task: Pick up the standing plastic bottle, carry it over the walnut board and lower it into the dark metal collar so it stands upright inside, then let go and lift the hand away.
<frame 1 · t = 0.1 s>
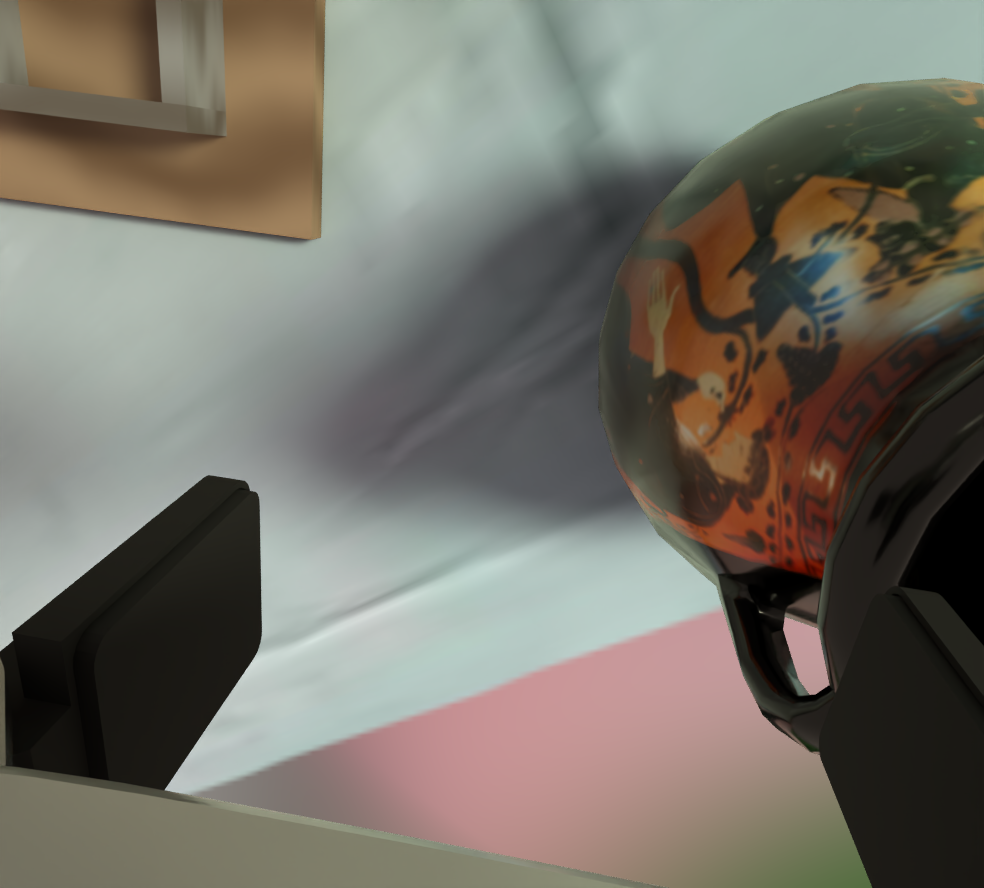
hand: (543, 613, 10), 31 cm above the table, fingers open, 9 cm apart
amphora vase: (787, 318, 39), on the table
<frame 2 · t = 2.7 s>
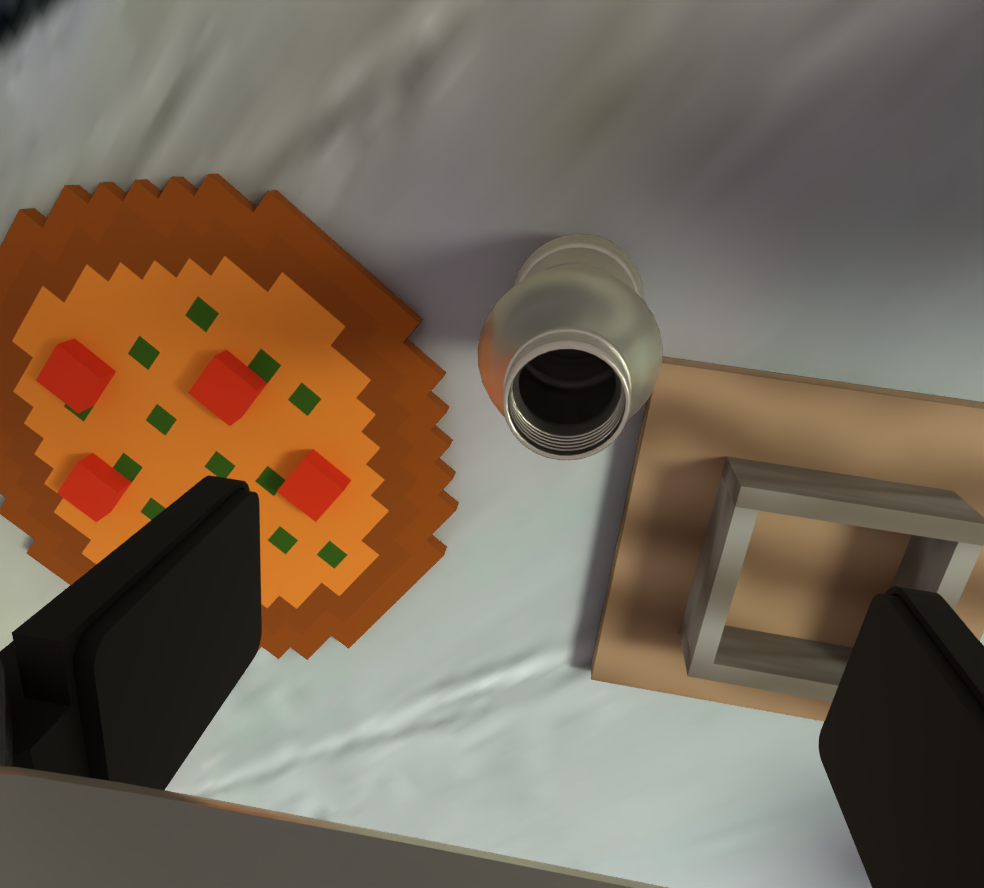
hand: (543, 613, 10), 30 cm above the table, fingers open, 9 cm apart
pizza: (214, 441, 45), on the table
plastic bottle: (577, 289, 38), on the table
collar board: (799, 554, 42), on the table
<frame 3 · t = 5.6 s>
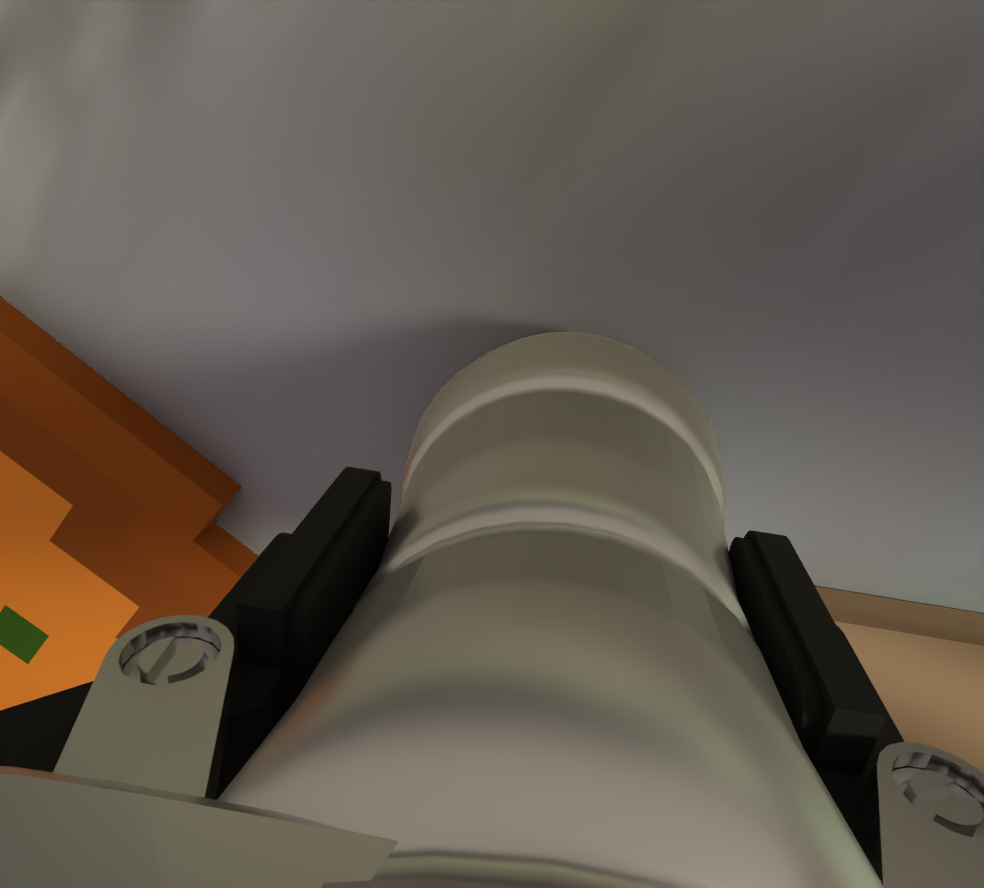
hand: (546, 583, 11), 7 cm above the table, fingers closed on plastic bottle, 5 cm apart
plastic bottle: (562, 436, 17), on the table, touching gripper
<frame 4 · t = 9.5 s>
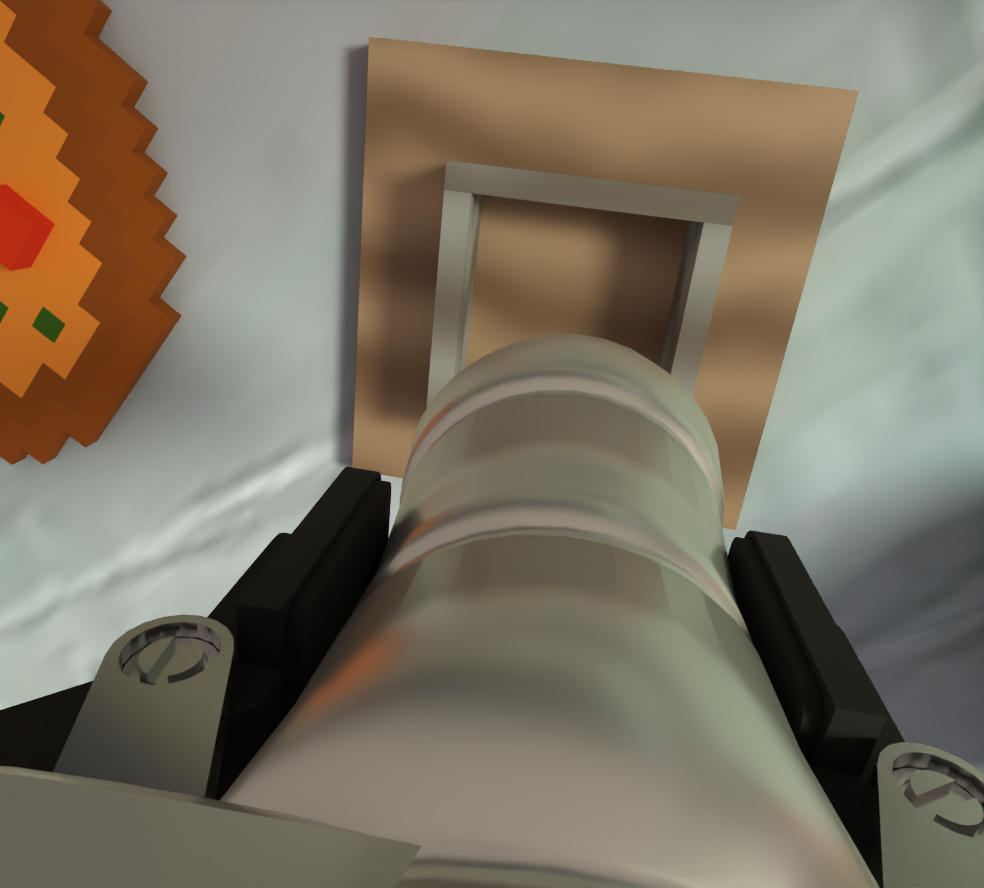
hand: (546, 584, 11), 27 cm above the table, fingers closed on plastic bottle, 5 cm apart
plastic bottle: (561, 438, 17), point 20 cm above the table, touching gripper
collar board: (570, 302, 36), on the table
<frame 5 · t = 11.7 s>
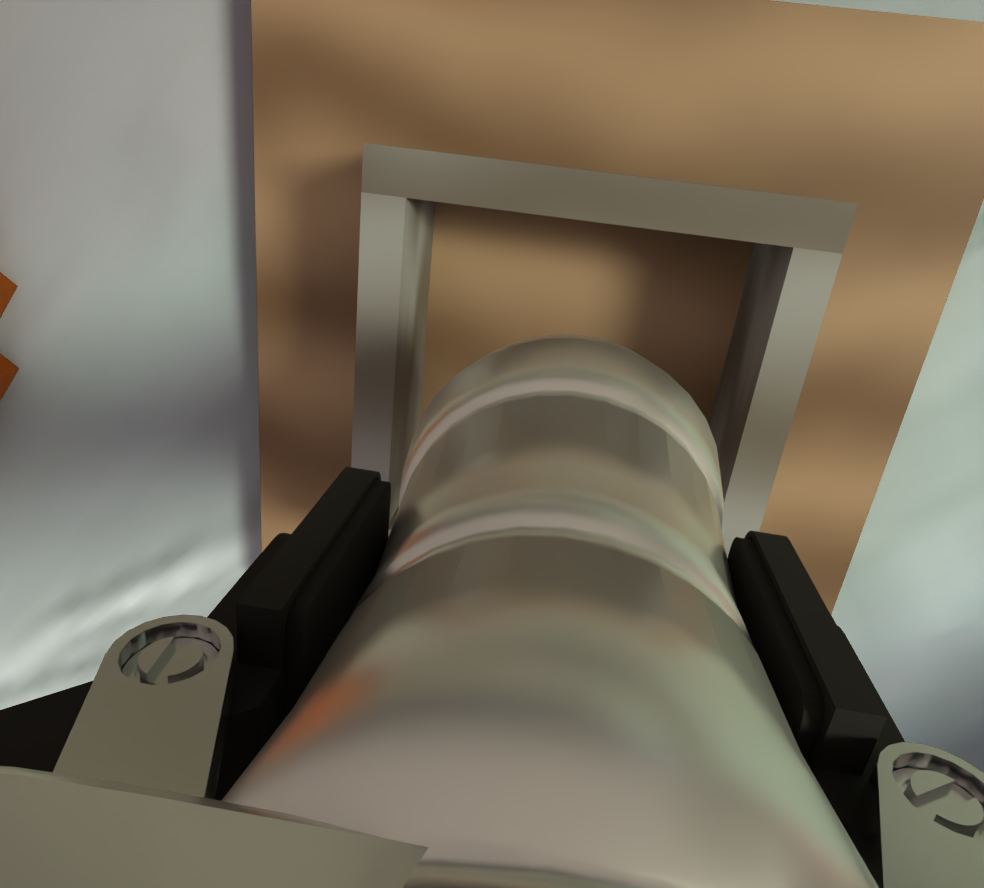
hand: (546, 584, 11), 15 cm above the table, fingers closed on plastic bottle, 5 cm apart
plastic bottle: (560, 438, 17), point 8 cm above the table, touching gripper
collar board: (570, 356, 25), on the table
when the fingers open (9 cm above the table, at t = 13.7 s): plastic bottle drops 1 cm, resting on collar board.
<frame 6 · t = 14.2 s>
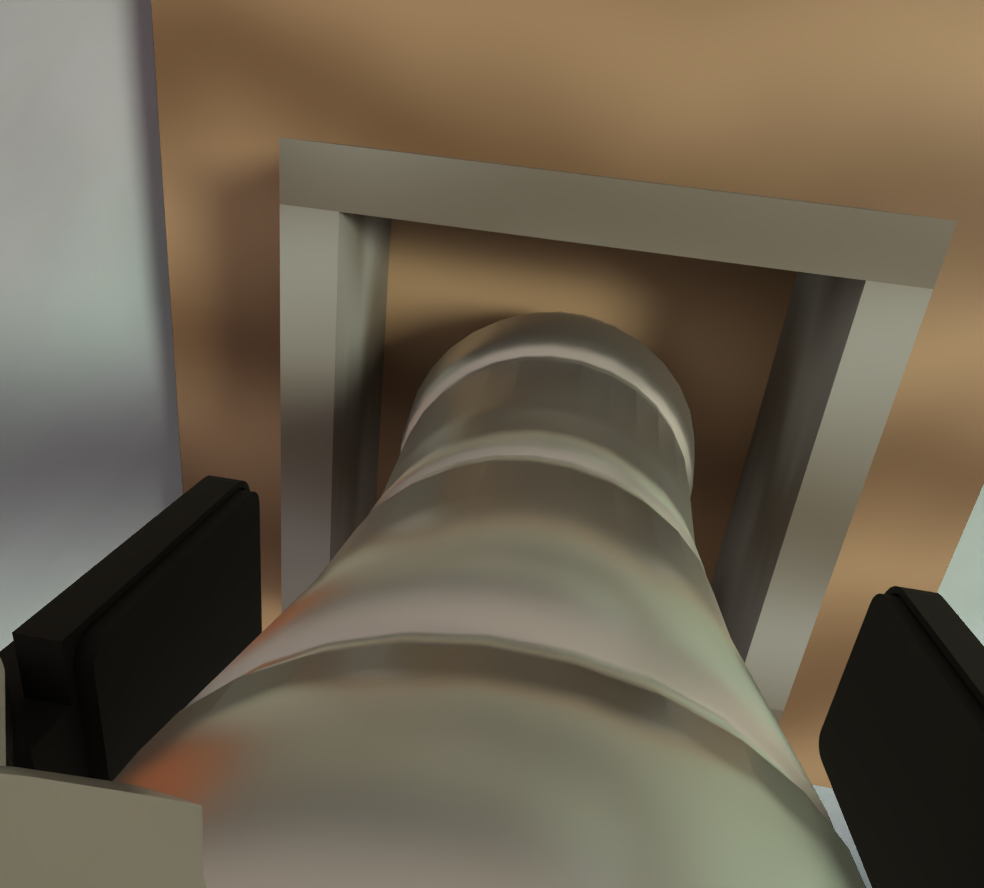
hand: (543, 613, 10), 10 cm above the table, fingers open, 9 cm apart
plastic bottle: (551, 411, 19), point 1 cm above the table, touching collar board
collar board: (563, 402, 20), on the table
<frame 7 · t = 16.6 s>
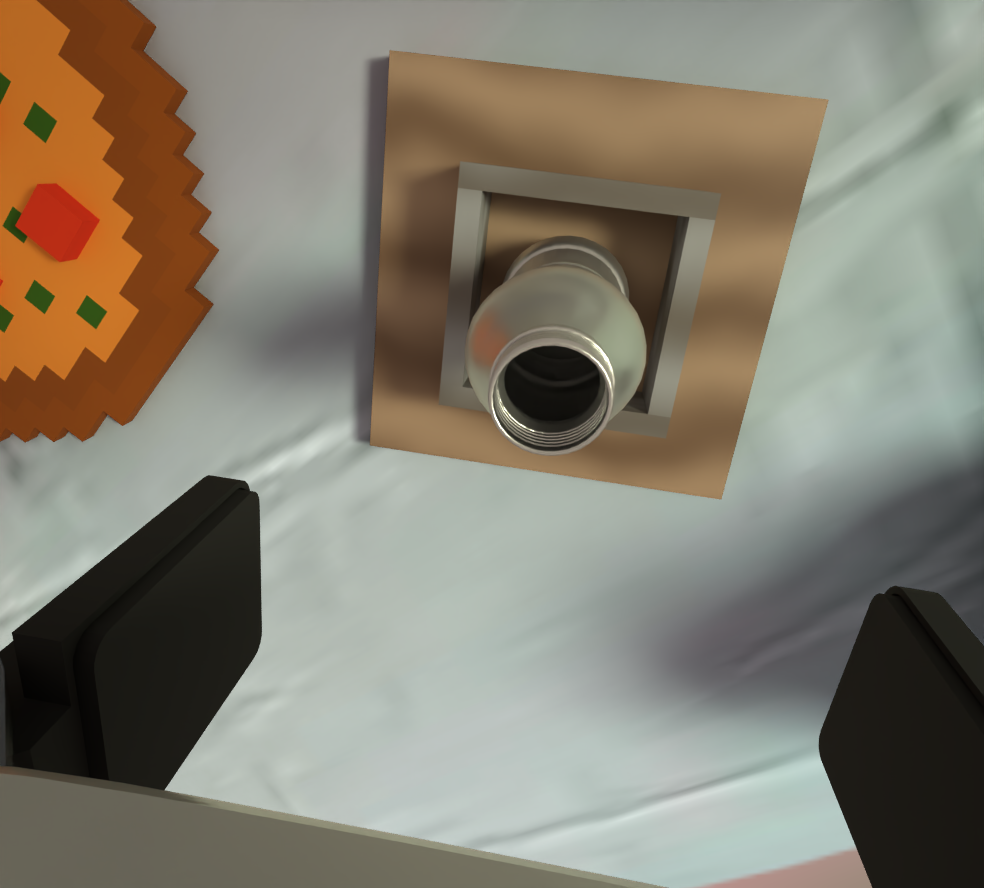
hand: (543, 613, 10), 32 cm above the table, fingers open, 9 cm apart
plastic bottle: (564, 291, 39), point 1 cm above the table, touching collar board
collar board: (570, 290, 40), on the table
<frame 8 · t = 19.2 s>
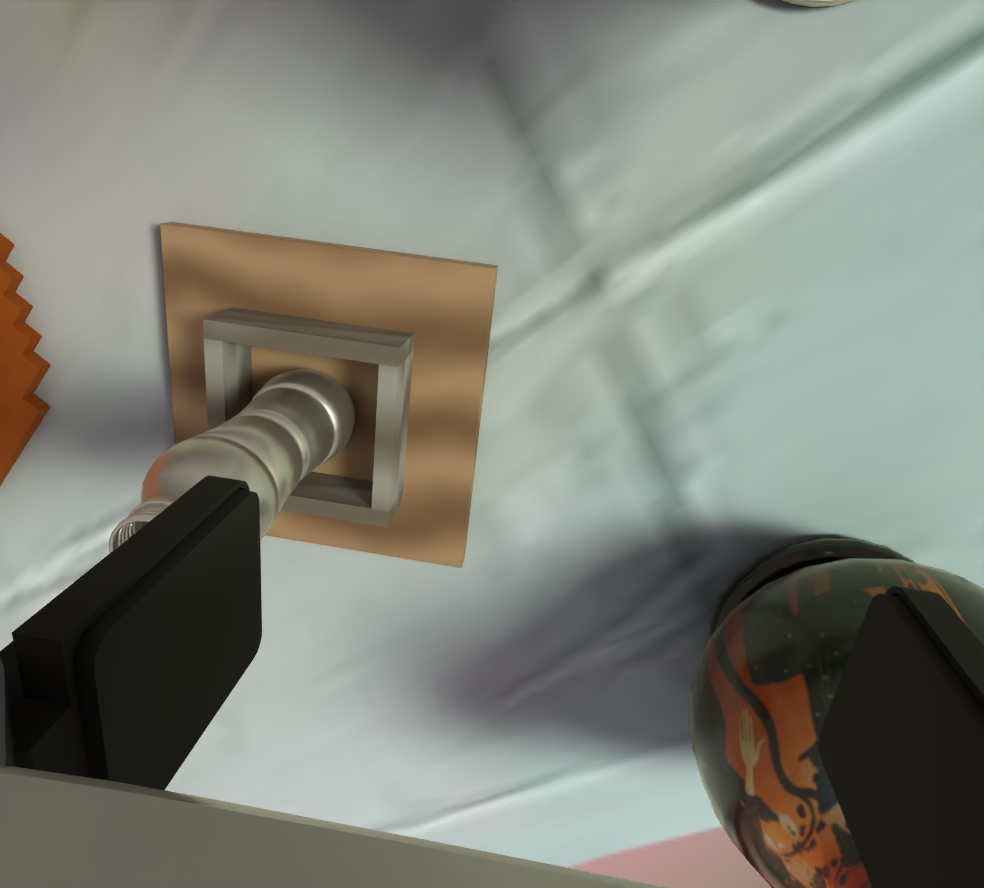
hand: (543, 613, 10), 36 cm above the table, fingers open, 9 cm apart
amphora vase: (819, 626, 51), on the table
plastic bottle: (317, 404, 48), point 1 cm above the table, touching collar board
collar board: (328, 401, 49), on the table
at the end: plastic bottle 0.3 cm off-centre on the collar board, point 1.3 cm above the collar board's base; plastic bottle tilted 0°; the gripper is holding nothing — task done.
